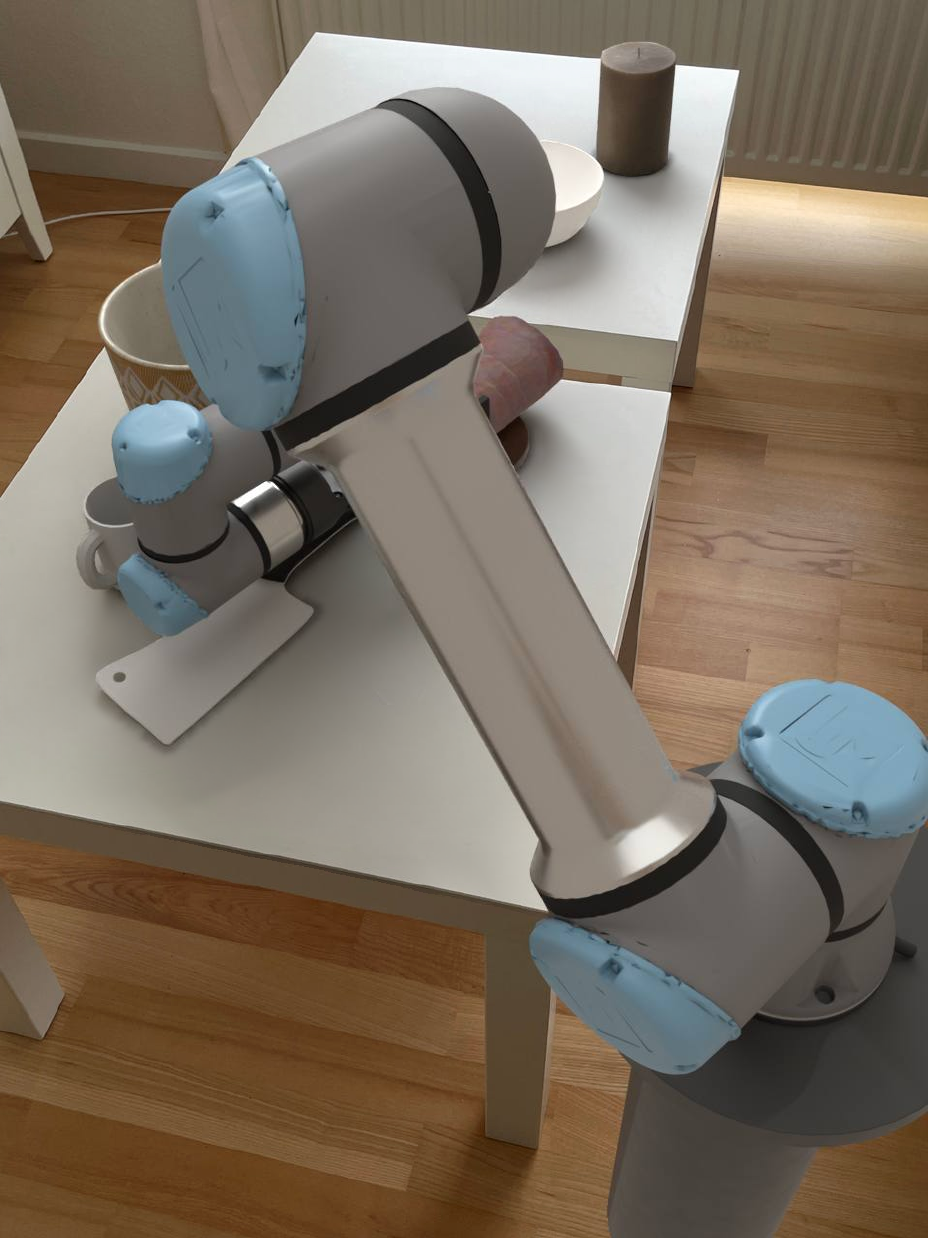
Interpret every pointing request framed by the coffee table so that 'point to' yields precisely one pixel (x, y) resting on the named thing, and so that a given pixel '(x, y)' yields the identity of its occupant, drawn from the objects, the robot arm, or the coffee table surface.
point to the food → (515, 368)
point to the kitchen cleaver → (211, 651)
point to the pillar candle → (635, 107)
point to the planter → (146, 344)
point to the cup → (106, 535)
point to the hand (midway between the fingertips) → (456, 390)
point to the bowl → (572, 188)
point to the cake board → (515, 441)
